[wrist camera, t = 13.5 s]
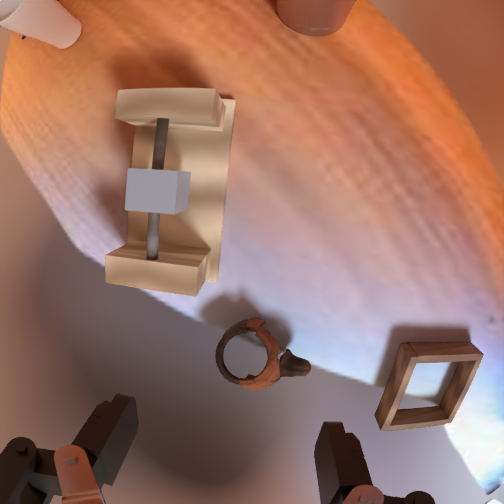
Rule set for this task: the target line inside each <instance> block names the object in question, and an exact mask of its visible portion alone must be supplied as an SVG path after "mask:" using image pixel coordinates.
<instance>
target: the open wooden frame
mask: <svg viewBox="0 0 504 504" xmlns="http://www.w3.org/2000/svg"><path fill="white" fill-rule="evenodd" d="M483 355H484V354H483V353H482V352H481V351H480V350H479V349H478V348H476V347H475V346H474V345H473V344H472V343H467V342H445V343H420V342H408V344H406V343H401V345H400V348H399V351H398V354H397V357H396V360H395V363H394V366H393V369H392V372H391V374H390V377H389V380H388V382H387V385H386V388H385V390H384V393H383V396H382V398H381V401H380V403H379V405H378V408H377V410H376V412H375V418H376V420H377V423H378V425H379V428H380V430H381V431H383V430H387V431H394V430H404V429H414V428H422V427H430V426H436V425H443V424H446V423H451V422H452V420H453V418H454V416H455V414H456V413H457V411H458V409H459V407H460V405H461V403H462V401H463V399H464V397H465V395H466V393H467V391H468V389H469V387H470V385H471V383H472V380H473V378H474V376H475V374H476V371H477V369H478V367H479V365H480V362H481V360H482V357H483ZM458 361H460V362H459V364H458V366H457V369H456V371H455V374H454V376H453V378H452V380H451V383H450V385H449V387H448V389H447V391H446V394H445V396H444V398H443V400H442V402H441V404H440V406H434V407H424V408H413V409H400V410H397V409H398V406H399V404H400V402H401V400H402V397H403V395H404V393H405V390H406V388H407V385H408V383H409V380H410V378H411V375H412V373H413V370H414V368H415V365H416V363H437V362H458Z"/></svg>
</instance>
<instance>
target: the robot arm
mask: <svg viewBox="0 0 504 504" xmlns="http://www.w3.org/2000/svg"><path fill="white" fill-rule="evenodd" d="M355 1H356V0H276V9H277V13H278V15H279V17H280V19H281V20H282V21H283V23H285V24H286V25H287V26H288V27H289V28H291V29H293V30H294V31H297V32H299V33H301V34H305V35H310V36H324V35H328V34H331V33H333V32H335V31H337V30H338V29H339V28H341V27H342V25H343V23H344V22H345V20H346V18H347V16H348V14H349V12H350V11H351V9H352V7H353V5H354V3H355ZM138 424H139V422H138V415H137V407H136V400H135V397H133V396H129V395H125V394H121V393H117V394H116V395H115V397H114V399H113V400H112V402H108V401H104V402H103V403H101V404H99V405H98V406H96V408H95V409H94V411H93V412H92V414H91V416H90V417H89V418H88V420H87V422H86V423H85V424H84V426H83V427H82V429H81V430H80V432H79V433H78V435H77V436H76V438H75V439H74V441H73V442H72V444H71V445H64V446H61V447H59V448H58V449H57V450H56V451H53V450H46V449H40V448H36V446H35V444H34V442H33V441H32V440H30V439H28V438H25V437H17V438H14V439H12V440H11V441H10V442H9V443H8V444H7V446H6V447H5V449H4V450H3V452H2V453H1V454H0V504H50V502H51V499H52V498H53V496H54V495H58V496H63V498H62V504H106V502H105V499H104V497H103V494H102V491H101V488H102V486H103V484H104V483H105V484H108V485H111V486H112V485H113V483H114V481H115V479H116V476H117V474H118V472H119V470H120V468H121V466H122V463H123V461H124V459H125V457H126V455H127V453H128V451H129V448H130V446H131V444H132V442H133V440H134V438H135V436H136V434H137V430H138ZM314 458H315V465H316V471H317V479H318V486H319V492H320V500H321V504H435V501H434V499H433V498H432V496H431V495H429V494H428V493H426V492H422V491H415V492H412V493H410V494H408V495H407V496H406V497H405V498H400V497H391V496H386V495H383V493H382V492H381V491H380V490H379V489H378V488H377V487H375V486H373V484H372V481H371V477H370V474H369V471H368V468H367V464H366V461H365V459H364V454H363V452H362V448H361V444H360V441H359V440H358V439H357V438H356V436H355V435H354V434H353V433H345V430H344V427H343V423H342V422H324V423H323V425H322V428H321V431H320V433H319V436H318V439H317V442H316V445H315V451H314Z"/></svg>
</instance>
